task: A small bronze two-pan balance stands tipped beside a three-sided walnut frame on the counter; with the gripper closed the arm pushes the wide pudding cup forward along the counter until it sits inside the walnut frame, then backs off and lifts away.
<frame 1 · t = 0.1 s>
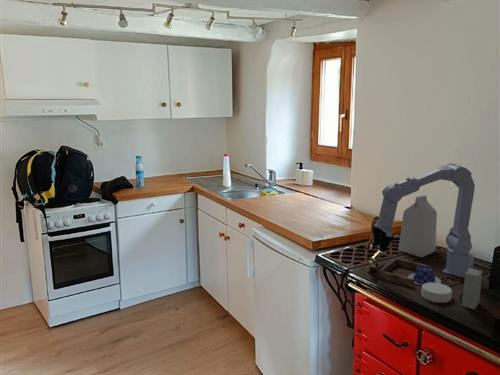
hand: (379, 247, 172), 11 cm above the table, tool pointing down, fingers open, 7 cm apart
holder: (401, 274, 173), on the table
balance: (376, 266, 180), on the table
skincare box: (470, 305, 148), on the table
white short cylinder: (435, 297, 154), on the table
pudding: (424, 281, 167), on the table
milk: (416, 251, 199), on the table
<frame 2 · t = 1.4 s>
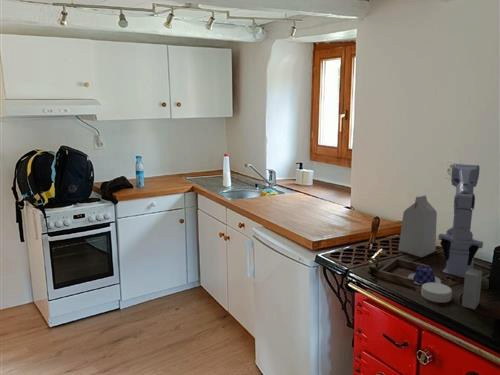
hand: (458, 262, 157), 10 cm above the table, tool pointing down, fingers open, 7 cm apart
nothing on the table moved.
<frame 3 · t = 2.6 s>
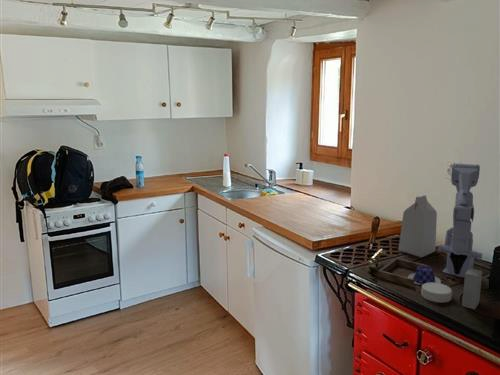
hand: (457, 273, 158), 6 cm above the table, tool pointing down, fingers closed
nothing on the table moved.
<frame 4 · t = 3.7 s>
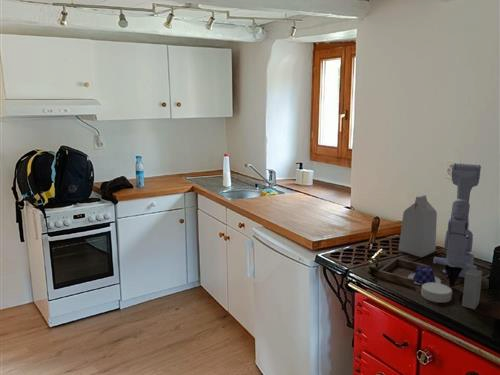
hand: (452, 285, 160), 1 cm above the table, tool pointing down, fingers closed
nothing on the table moved.
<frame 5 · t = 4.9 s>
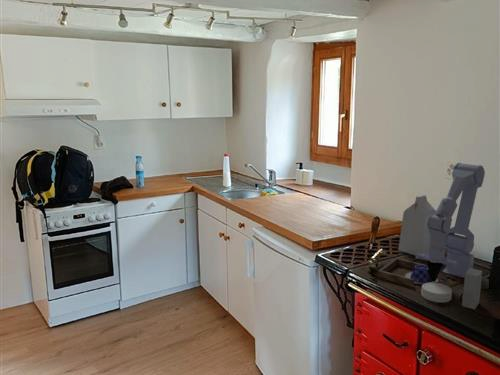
hand: (434, 280, 164), 1 cm above the table, tool pointing down, fingers closed
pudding: (421, 280, 168), on the table, touching gripper
everything else where it was.
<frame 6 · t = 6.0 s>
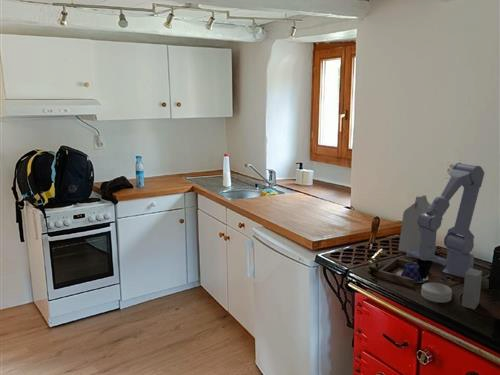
hand: (424, 277, 167), 1 cm above the table, tool pointing down, fingers closed
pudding: (411, 278, 170), on the table
everything else where it was.
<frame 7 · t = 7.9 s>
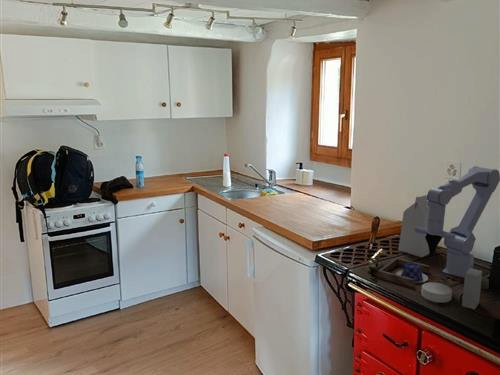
hand: (432, 253, 166), 10 cm above the table, tool pointing down, fingers closed
nothing on the table moved.
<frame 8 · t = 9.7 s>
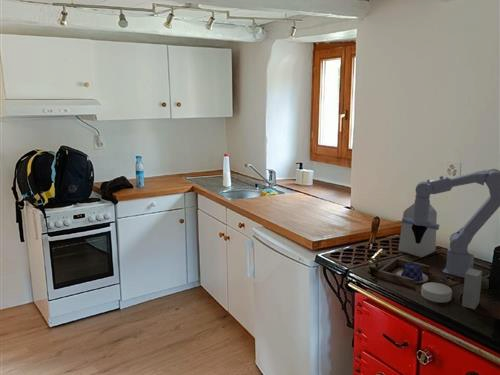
hand: (418, 242, 178), 10 cm above the table, tool pointing down, fingers closed
nothing on the table moved.
at the end: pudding inside the target area on the holder (2.8 cm from its centre), point -0.6 cm above the holder's base; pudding tilted 0° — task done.
